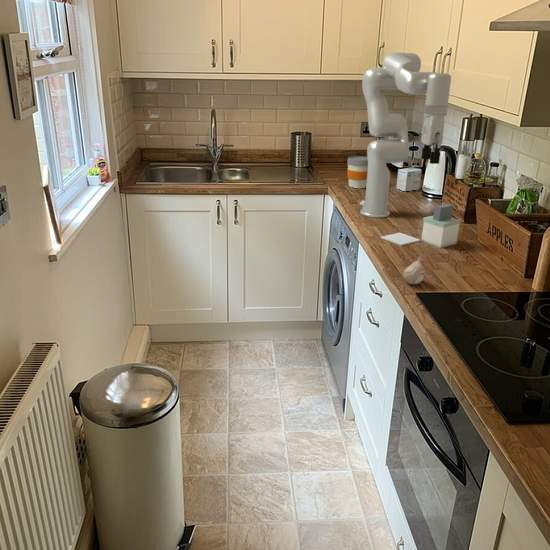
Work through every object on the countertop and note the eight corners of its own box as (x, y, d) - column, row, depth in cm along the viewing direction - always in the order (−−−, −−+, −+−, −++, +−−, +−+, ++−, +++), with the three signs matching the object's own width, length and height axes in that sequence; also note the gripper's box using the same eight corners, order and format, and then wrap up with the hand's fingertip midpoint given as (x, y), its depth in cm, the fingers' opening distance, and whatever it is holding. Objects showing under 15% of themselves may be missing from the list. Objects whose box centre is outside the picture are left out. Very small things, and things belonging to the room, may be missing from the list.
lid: (422, 223, 207) (425, 204, 204) (439, 219, 212) (442, 201, 209) (443, 229, 200) (446, 210, 197) (459, 226, 205) (462, 207, 202)
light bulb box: (410, 187, 292) (412, 167, 288) (419, 190, 287) (422, 169, 282) (395, 189, 286) (397, 168, 282) (405, 192, 281) (407, 171, 277)
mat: (380, 238, 212) (380, 236, 212) (399, 233, 218) (399, 232, 217) (401, 245, 204) (401, 244, 204) (420, 241, 210) (420, 239, 210)
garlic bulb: (427, 285, 170) (431, 261, 167) (409, 288, 168) (412, 263, 165) (415, 277, 176) (418, 253, 173) (397, 280, 174) (400, 256, 171)
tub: (421, 241, 210) (424, 220, 207) (437, 237, 214) (439, 217, 211) (440, 248, 203) (443, 227, 200) (456, 244, 208) (459, 223, 205)
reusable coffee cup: (343, 188, 285) (345, 159, 279) (348, 183, 296) (350, 155, 290) (367, 191, 281) (370, 161, 276) (371, 186, 292) (374, 157, 287)
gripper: (417, 109, 200) (412, 157, 206) (432, 113, 184) (426, 165, 190) (438, 109, 200) (432, 157, 206) (455, 113, 184) (448, 165, 190)
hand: (429, 161), depth 198 cm, fingers open, 9 cm apart
